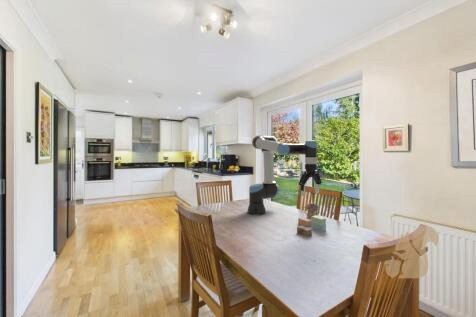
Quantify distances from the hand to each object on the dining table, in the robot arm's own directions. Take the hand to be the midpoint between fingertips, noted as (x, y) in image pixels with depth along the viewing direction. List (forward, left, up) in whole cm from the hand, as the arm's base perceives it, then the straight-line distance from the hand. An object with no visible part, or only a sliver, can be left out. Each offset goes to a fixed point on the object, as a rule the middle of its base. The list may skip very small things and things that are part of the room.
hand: (310, 194), depth 148 cm
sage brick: (+8, -2, -17) cm, 19 cm away
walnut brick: (+9, -16, -21) cm, 28 cm away
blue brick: (+8, -2, -21) cm, 23 cm away
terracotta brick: (-3, -2, -21) cm, 22 cm away
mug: (-9, +11, -21) cm, 25 cm away
